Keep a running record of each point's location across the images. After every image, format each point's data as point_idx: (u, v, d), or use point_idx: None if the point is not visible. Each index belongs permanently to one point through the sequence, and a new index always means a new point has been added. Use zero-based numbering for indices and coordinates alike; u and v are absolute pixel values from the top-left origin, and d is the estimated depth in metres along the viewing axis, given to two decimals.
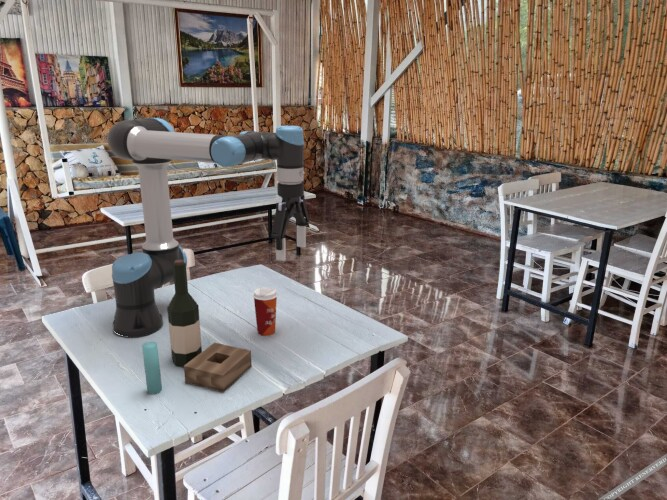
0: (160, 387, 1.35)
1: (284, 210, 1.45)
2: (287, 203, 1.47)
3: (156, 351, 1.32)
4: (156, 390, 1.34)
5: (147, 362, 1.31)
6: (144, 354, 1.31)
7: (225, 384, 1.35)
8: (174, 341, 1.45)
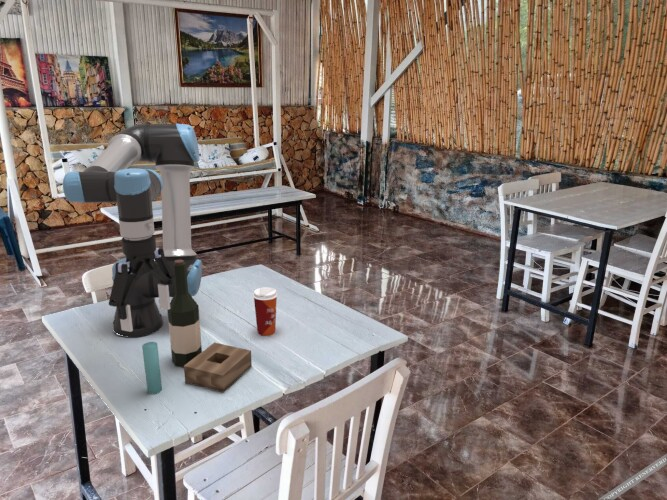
0: (160, 387, 1.35)
1: (125, 272, 1.19)
2: (131, 263, 1.21)
3: (156, 351, 1.32)
4: (156, 390, 1.34)
5: (147, 362, 1.31)
6: (144, 354, 1.31)
7: (225, 384, 1.35)
8: (174, 341, 1.45)
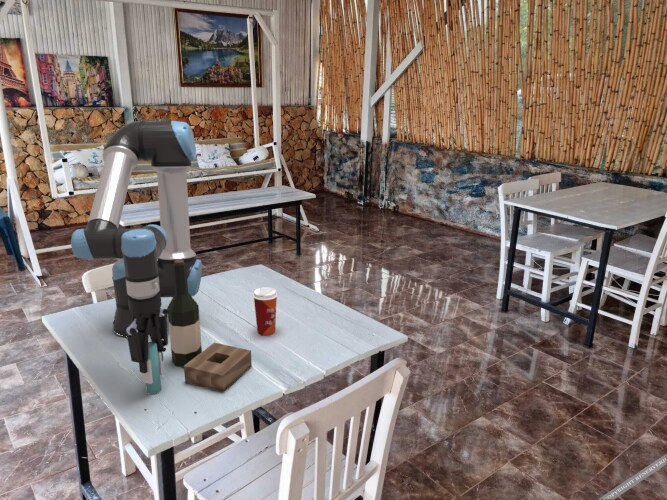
0: (160, 387, 1.35)
1: (135, 334, 1.25)
2: (137, 322, 1.25)
3: (156, 351, 1.31)
4: (156, 390, 1.34)
5: None
6: None
7: (225, 384, 1.35)
8: (174, 341, 1.45)
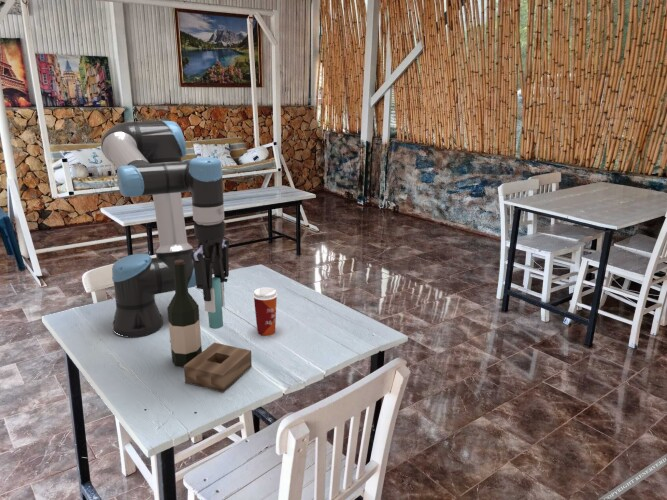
0: (222, 322, 1.38)
1: (202, 260, 1.27)
2: (204, 248, 1.28)
3: (219, 285, 1.34)
4: (218, 325, 1.37)
5: None
6: None
7: (225, 384, 1.35)
8: (174, 341, 1.45)
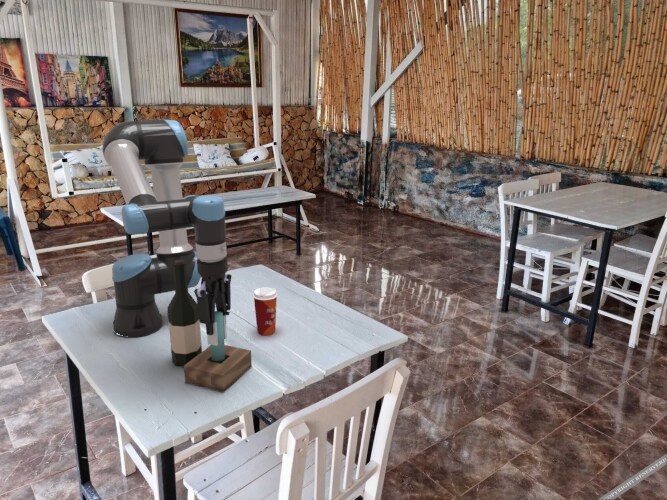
0: (224, 355, 1.41)
1: (205, 296, 1.30)
2: (207, 285, 1.31)
3: (222, 319, 1.38)
4: (221, 357, 1.40)
5: None
6: None
7: (225, 384, 1.35)
8: (174, 341, 1.45)
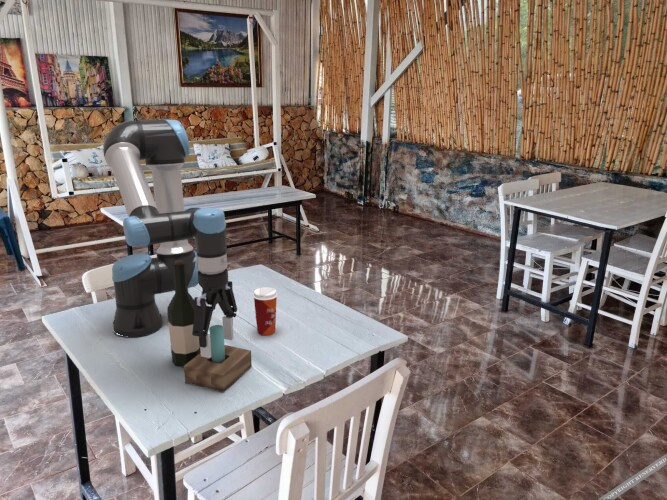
0: None
1: (204, 305, 1.30)
2: (207, 295, 1.32)
3: (222, 333, 1.39)
4: None
5: (214, 344, 1.38)
6: (212, 336, 1.38)
7: (225, 384, 1.35)
8: (174, 341, 1.45)
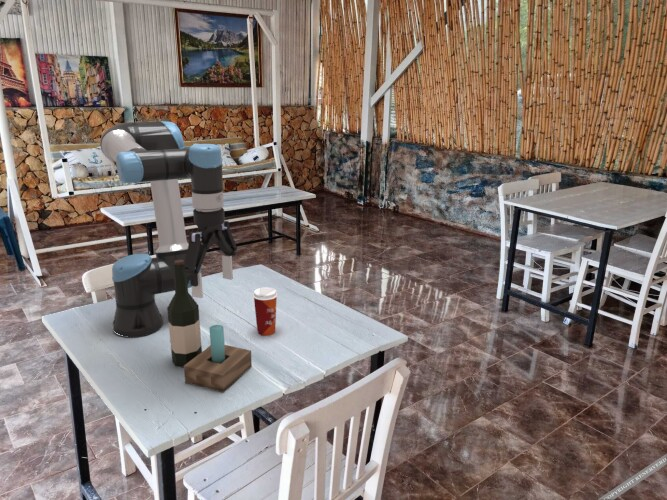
0: None
1: (198, 241, 1.26)
2: (203, 233, 1.28)
3: (222, 333, 1.39)
4: None
5: (214, 344, 1.38)
6: (212, 336, 1.38)
7: (225, 384, 1.35)
8: (174, 341, 1.45)
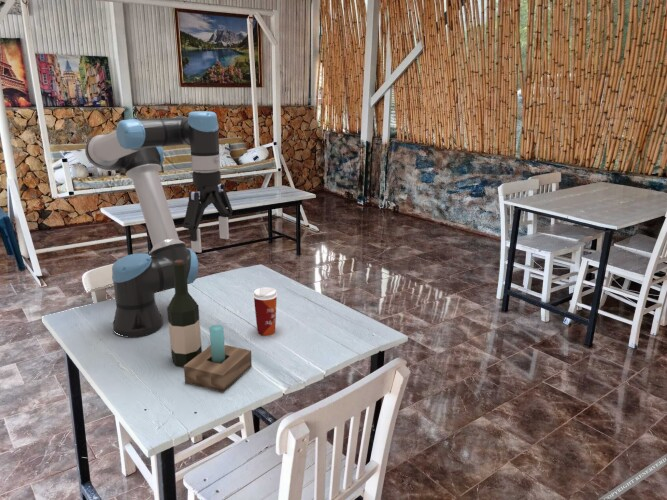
0: None
1: (197, 199, 1.39)
2: (201, 192, 1.41)
3: (222, 333, 1.39)
4: None
5: (214, 344, 1.38)
6: (212, 336, 1.38)
7: (225, 384, 1.35)
8: (174, 341, 1.45)
